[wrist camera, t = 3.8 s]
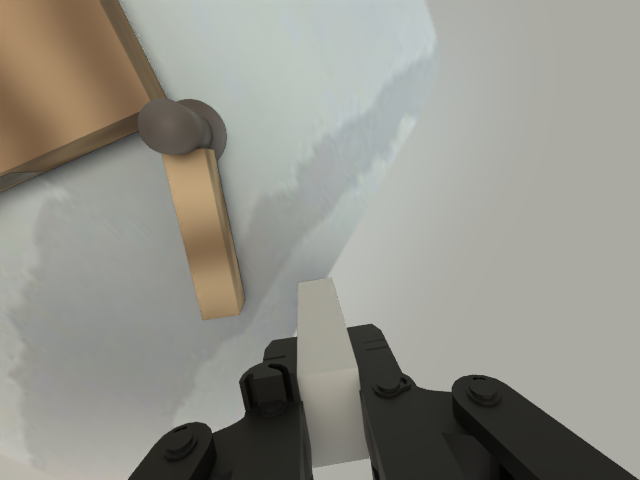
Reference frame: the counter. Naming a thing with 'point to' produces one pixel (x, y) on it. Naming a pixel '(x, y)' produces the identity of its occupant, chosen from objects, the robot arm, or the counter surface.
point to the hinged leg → (196, 202)
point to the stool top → (72, 84)
